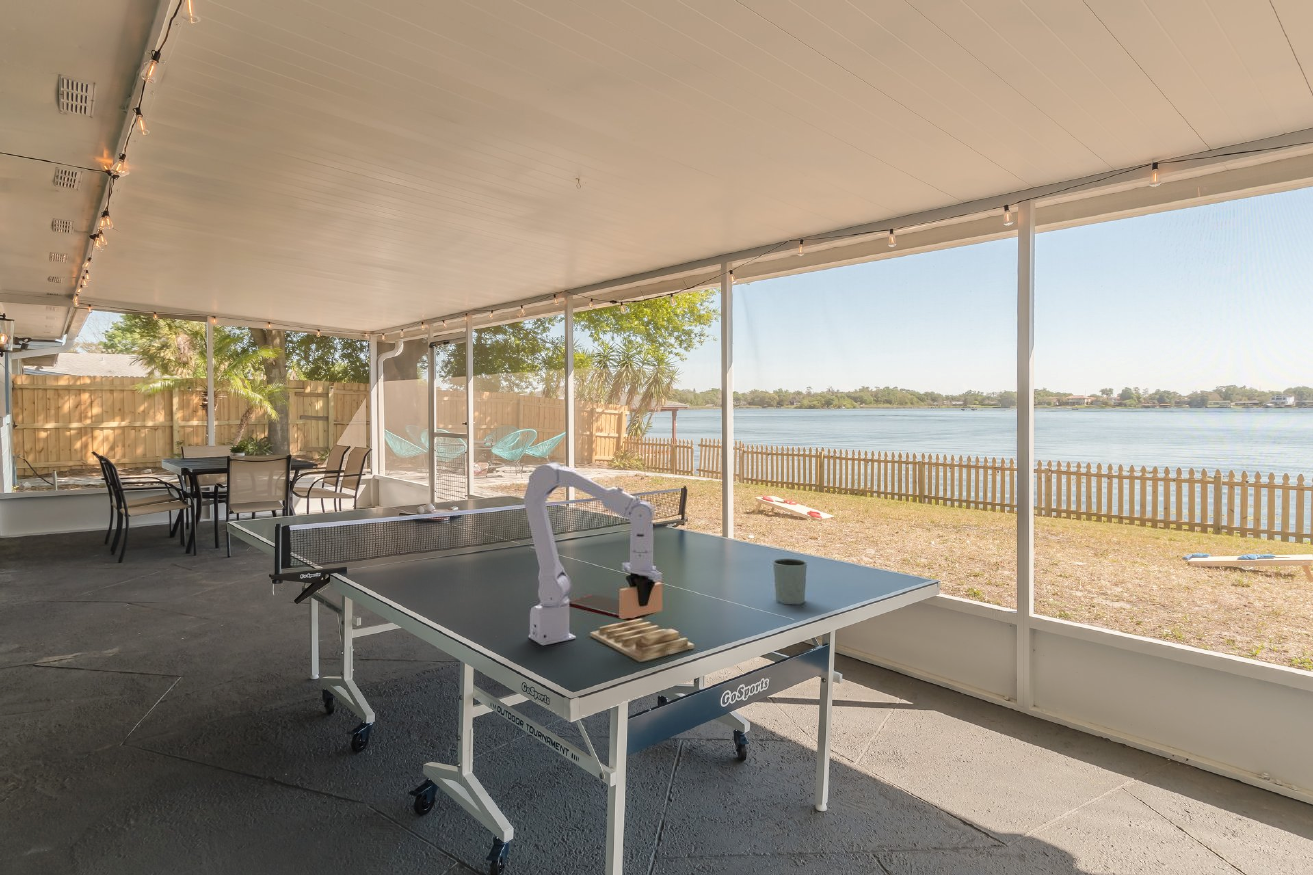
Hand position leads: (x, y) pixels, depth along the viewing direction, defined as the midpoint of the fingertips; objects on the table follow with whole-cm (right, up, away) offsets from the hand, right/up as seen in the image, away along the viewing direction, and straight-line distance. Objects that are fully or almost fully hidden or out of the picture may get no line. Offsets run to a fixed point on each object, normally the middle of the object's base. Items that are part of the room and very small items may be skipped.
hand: (641, 604), depth 169 cm
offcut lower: (+4, -9, -6) cm, 11 cm away
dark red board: (-9, -9, +30) cm, 32 cm away
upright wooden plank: (0, -2, 0) cm, 2 cm away
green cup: (+44, -9, +39) cm, 60 cm away
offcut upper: (+5, -7, -5) cm, 10 cm away
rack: (-1, -9, +1) cm, 9 cm away
